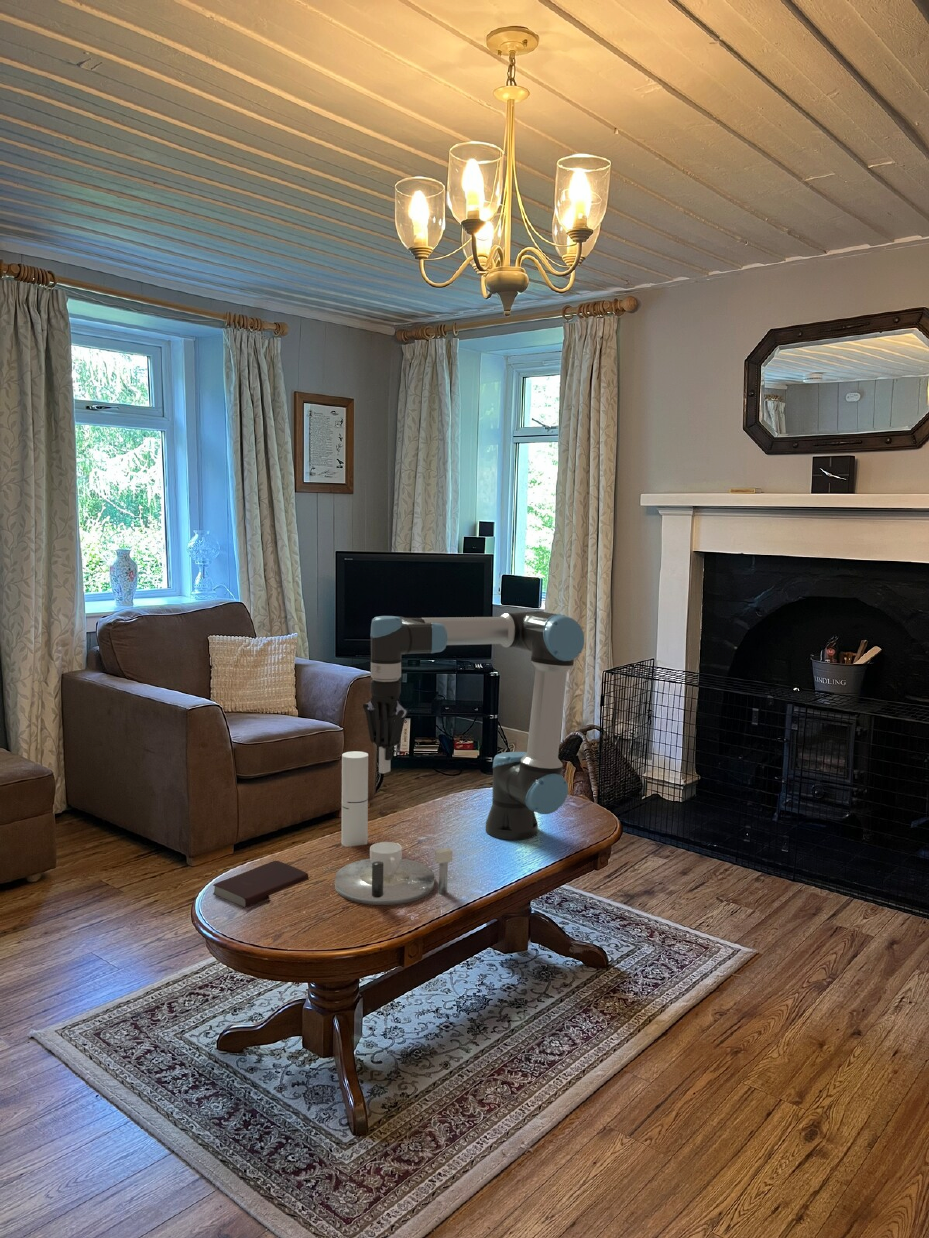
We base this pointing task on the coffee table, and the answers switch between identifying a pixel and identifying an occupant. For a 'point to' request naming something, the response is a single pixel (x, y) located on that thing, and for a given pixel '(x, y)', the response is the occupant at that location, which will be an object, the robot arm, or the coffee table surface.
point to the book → (258, 883)
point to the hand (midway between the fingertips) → (384, 771)
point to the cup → (386, 856)
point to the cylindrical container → (354, 798)
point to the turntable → (384, 882)
